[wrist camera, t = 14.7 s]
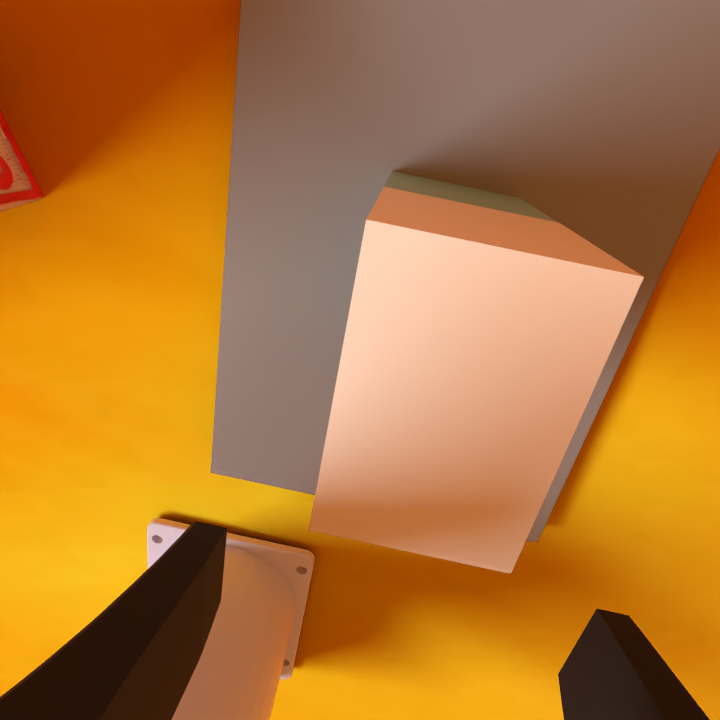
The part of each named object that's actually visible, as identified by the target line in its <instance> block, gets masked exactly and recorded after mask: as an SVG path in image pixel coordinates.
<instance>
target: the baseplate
mask: <svg viewBox="0 0 720 720" xmlns="http://www.w3.org/2000/svg"><path fill="white" fill-rule="evenodd" d="M719 149H720V0H241V8H240V23H239V39H238V55H237V70H236V86H235V102H234V117H233V133H232V149H231V164H230V180H229V196H228V211H227V227H226V243H225V258H224V274H223V289H222V305H221V321H220V336H219V352H218V368H217V383H216V399H215V415H214V430H213V446H212V462H211V473H215V474H219V475H224V476H229V477H233V478H238V479H243V480H247V481H252V482H257V483H261V484H266V485H271V486H275V487H280V488H285V489H289V490H294V491H299V492H303V493H308V494H313V495H315V493H316V488H317V483H318V477H319V472H320V466H321V461H322V456H323V450H324V445H325V439H326V434H327V429H328V423H329V418H330V412H331V407H332V402H333V396H334V391H335V385H336V380H337V374H338V369H339V364H340V358H341V353H342V347H343V342H344V337H345V331H346V326H347V320H348V315H349V310H350V304H351V299H352V293H353V288H354V282H355V277H356V272H357V266H358V261H359V255H360V250H361V245H362V239H363V234H364V228H365V223H366V219H367V217H368V215H369V213H370V211H371V210H372V208H373V206H374V204H375V202H376V200H377V199H378V197H379V195H380V193H381V191H382V189H383V188H384V185H385V183H386V181H387V179H388V178H389V176H390V174H391V172H392V171H395V172H400V173H404V174H409V175H414V176H419V177H423V178H428V179H433V180H438V181H442V182H447V183H452V184H456V185H461V186H466V187H471V188H475V189H480V190H485V191H490V192H494V193H499V194H504V195H509V196H513V197H518V198H521V199H523V200H524V201H526V202H527V203H529V204H530V205H532V206H534V207H535V208H537V209H538V210H540V211H541V212H543V213H544V214H546V215H547V216H549V217H551V218H552V219H554V220H555V221H557V222H558V223H561V224H562V225H564V226H565V227H567V228H569V229H570V230H572V231H573V232H575V233H576V234H578V235H579V236H581V237H583V238H584V239H586V240H587V241H589V242H590V243H592V244H593V245H595V246H597V247H598V248H600V249H601V250H603V251H604V252H606V253H607V254H609V255H611V256H612V257H614V258H615V259H617V260H618V261H620V262H621V263H623V264H625V265H626V266H628V267H629V268H631V269H632V270H634V271H635V272H637V273H639V274H640V275H642V276H643V277H644V278H643V281H642V283H641V285H640V287H639V290H638V292H637V294H636V296H635V298H634V301H633V303H632V305H631V307H630V310H629V312H628V314H627V316H626V318H625V321H624V323H623V325H622V327H621V330H620V332H619V334H618V336H617V339H616V341H615V343H614V345H613V347H612V350H611V352H610V354H609V356H608V359H607V361H606V363H605V365H604V368H603V370H602V372H601V374H600V376H599V379H598V381H597V383H596V385H595V388H594V390H593V392H592V394H591V397H590V399H589V401H588V403H587V405H586V408H585V410H584V412H583V414H582V417H581V419H580V421H579V423H578V426H577V428H576V430H575V432H574V434H573V437H572V439H571V441H570V443H569V446H568V448H567V450H566V452H565V455H564V457H563V459H562V461H561V463H560V466H559V468H558V470H557V472H556V475H555V477H554V479H553V481H552V484H551V486H550V488H549V490H548V492H547V495H546V497H545V499H544V501H543V504H542V506H541V508H540V510H539V513H538V515H537V517H536V519H535V521H534V524H533V526H532V528H531V530H530V533H529V535H528V537H527V539H526V540H527V541H532V542H538V540H539V538H540V535H541V533H542V531H543V529H544V527H545V525H546V522H547V520H548V518H549V516H550V514H551V512H552V510H553V507H554V505H555V503H556V501H557V499H558V497H559V494H560V492H561V490H562V488H563V486H564V484H565V481H566V479H567V477H568V475H569V473H570V471H571V468H572V466H573V464H574V462H575V460H576V458H577V456H578V453H579V451H580V449H581V447H582V445H583V443H584V440H585V438H586V436H587V434H588V432H589V430H590V427H591V425H592V423H593V421H594V419H595V417H596V414H597V412H598V410H599V408H600V406H601V404H602V402H603V399H604V397H605V395H606V393H607V391H608V389H609V386H610V384H611V382H612V380H613V378H614V376H615V373H616V371H617V369H618V367H619V365H620V363H621V360H622V358H623V356H624V354H625V352H626V350H627V348H628V345H629V343H630V341H631V339H632V337H633V335H634V332H635V330H636V328H637V326H638V324H639V322H640V319H641V317H642V315H643V313H644V311H645V309H646V306H647V304H648V302H649V300H650V298H651V296H652V294H653V291H654V289H655V287H656V285H657V283H658V281H659V278H660V276H661V274H662V272H663V270H664V268H665V265H666V263H667V261H668V259H669V257H670V255H671V252H672V250H673V248H674V246H675V244H676V242H677V240H678V237H679V235H680V233H681V231H682V229H683V227H684V224H685V222H686V220H687V218H688V216H689V214H690V211H691V209H692V207H693V205H694V203H695V201H696V198H697V196H698V194H699V192H700V190H701V188H702V186H703V183H704V181H705V179H706V177H707V175H708V173H709V170H710V168H711V166H712V164H713V162H714V160H715V157H716V155H717V153H718V151H719Z"/></svg>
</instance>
